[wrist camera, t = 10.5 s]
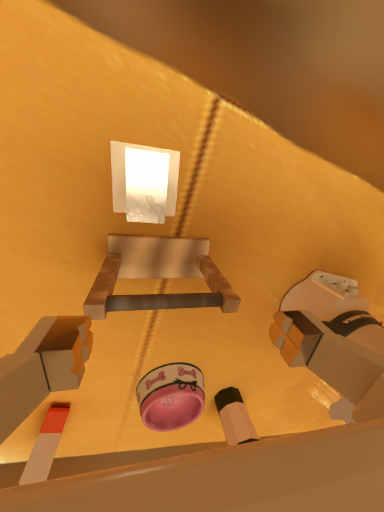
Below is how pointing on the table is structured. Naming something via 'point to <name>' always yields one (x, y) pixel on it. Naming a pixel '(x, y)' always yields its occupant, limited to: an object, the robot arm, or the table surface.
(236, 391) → the wine bottle
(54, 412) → the french fries container
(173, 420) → the dog bowl
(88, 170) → the table surface
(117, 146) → the ceramic tile
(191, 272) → the rail stand
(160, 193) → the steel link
